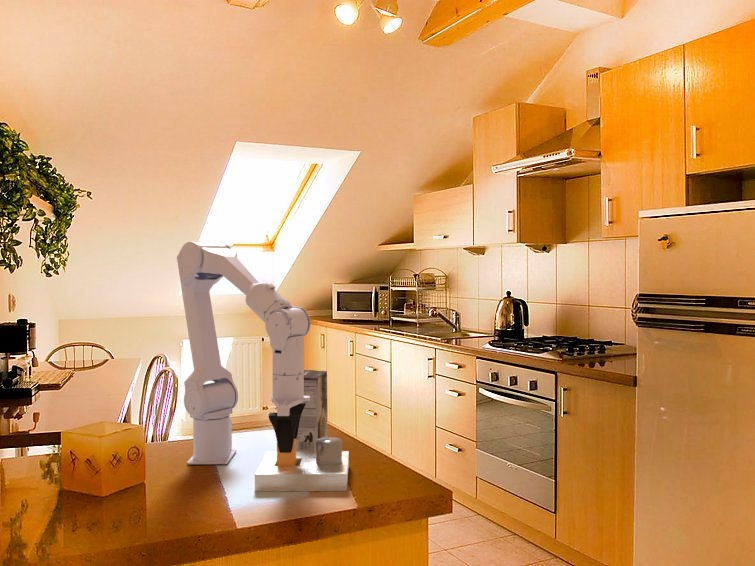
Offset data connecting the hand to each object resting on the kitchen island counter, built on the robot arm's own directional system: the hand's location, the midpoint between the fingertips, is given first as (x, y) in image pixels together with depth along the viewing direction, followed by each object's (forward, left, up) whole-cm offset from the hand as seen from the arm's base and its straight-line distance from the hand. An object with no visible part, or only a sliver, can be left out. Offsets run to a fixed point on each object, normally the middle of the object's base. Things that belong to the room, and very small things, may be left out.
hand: (288, 446), depth 119 cm
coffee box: (-21, +2, -6) cm, 22 cm away
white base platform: (0, +3, -6) cm, 7 cm away
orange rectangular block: (0, 0, -6) cm, 6 cm away
